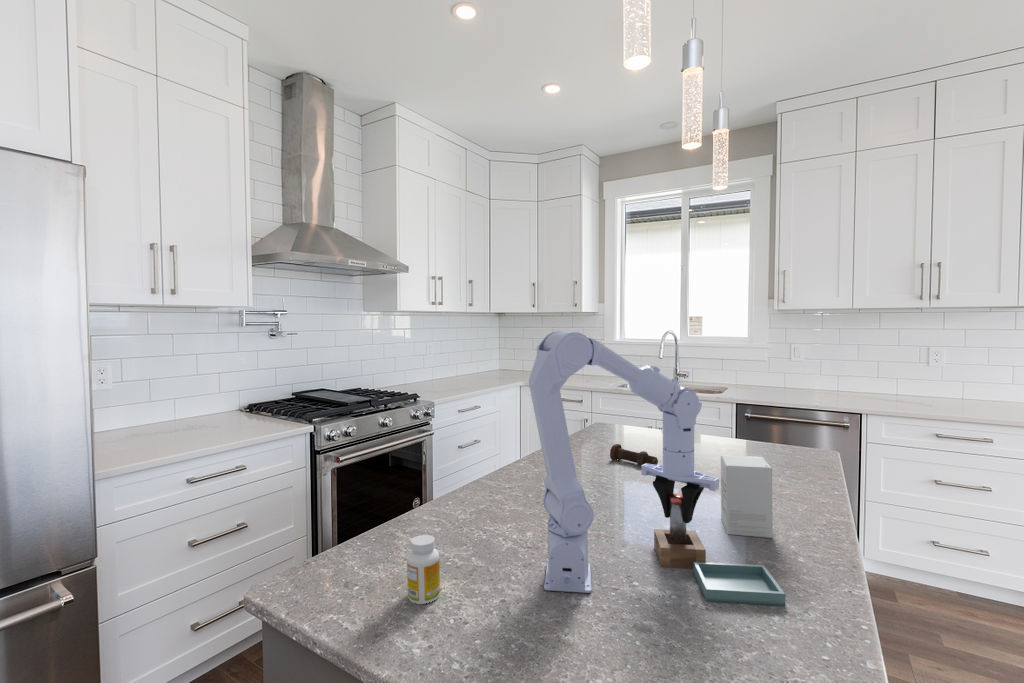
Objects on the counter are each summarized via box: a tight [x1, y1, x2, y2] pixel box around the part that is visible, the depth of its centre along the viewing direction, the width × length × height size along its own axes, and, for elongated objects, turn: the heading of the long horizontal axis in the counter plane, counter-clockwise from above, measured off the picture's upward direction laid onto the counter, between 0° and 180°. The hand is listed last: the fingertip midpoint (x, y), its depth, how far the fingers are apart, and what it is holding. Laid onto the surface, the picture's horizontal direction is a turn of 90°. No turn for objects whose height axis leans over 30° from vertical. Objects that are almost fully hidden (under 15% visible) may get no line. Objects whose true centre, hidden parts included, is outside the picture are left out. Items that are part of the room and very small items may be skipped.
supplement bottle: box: [406, 534, 441, 605], centre depth 81 cm, size 5×5×10 cm
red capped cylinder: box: [669, 493, 687, 541], centre depth 92 cm, size 3×3×8 cm
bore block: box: [653, 528, 707, 569], centre depth 93 cm, size 8×8×4 cm
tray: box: [692, 561, 786, 607], centre depth 82 cm, size 9×12×2 cm
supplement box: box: [720, 454, 774, 539], centre depth 105 cm, size 9×9×15 cm
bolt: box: [609, 443, 659, 467], centre depth 154 cm, size 6×5×15 cm
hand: (678, 518), depth 93 cm, fingers closed on red capped cylinder, 3 cm apart
